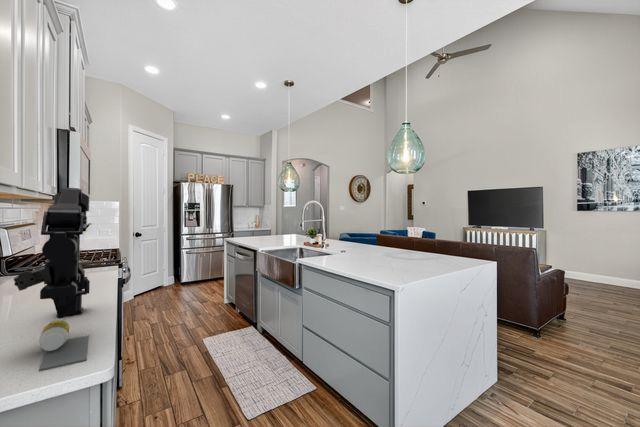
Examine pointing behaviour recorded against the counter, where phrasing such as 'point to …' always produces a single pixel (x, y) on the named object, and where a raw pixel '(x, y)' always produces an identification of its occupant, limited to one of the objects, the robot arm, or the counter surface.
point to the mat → (66, 354)
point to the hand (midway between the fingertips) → (61, 317)
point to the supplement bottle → (54, 335)
